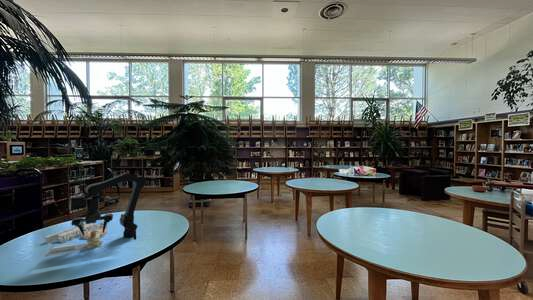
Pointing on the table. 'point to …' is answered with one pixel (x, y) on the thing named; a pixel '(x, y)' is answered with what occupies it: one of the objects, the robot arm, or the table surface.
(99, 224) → the sign
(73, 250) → the wall board
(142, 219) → the table surface
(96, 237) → the cabinet block
